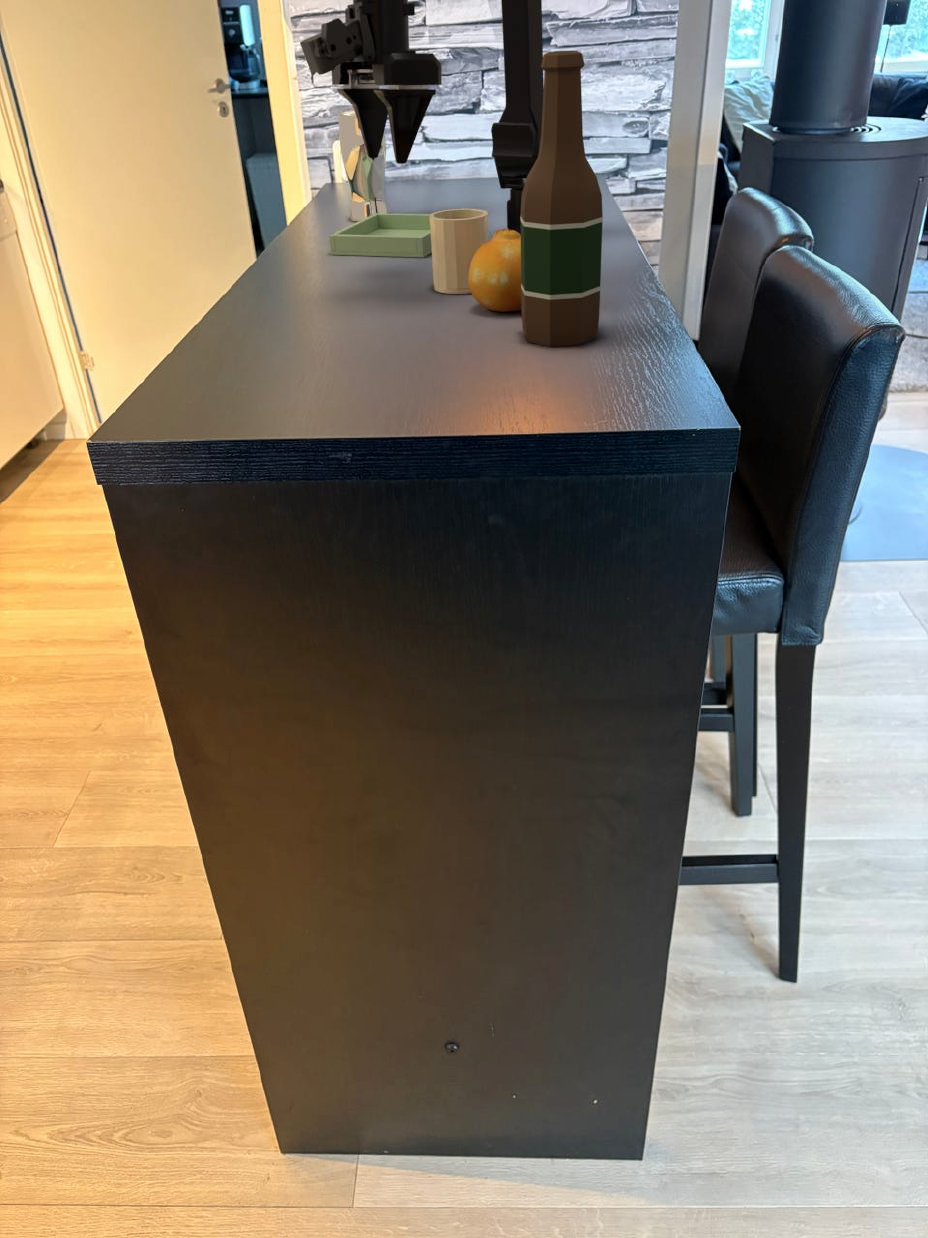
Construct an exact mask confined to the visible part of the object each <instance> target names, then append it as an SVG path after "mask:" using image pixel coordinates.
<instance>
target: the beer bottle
mask: <svg viewBox="0 0 928 1238" xmlns="http://www.w3.org/2000/svg"><path fill="white" fill-rule="evenodd" d="M585 66H586V64H585V61H584V56H583V53H582V52H581V51H579V50H556V51H548V52H546V53H543V60H542V64H541V67H542V68H543V84H544V92H543V111H542V130H541V142H540V148H539V155H538V158H537V160H536V162H535V164H534V165H533V167H532V169H531V171H530V172H529V174H528V176H527V179H526V182H525V185H524V189H523V192H522V198H521V215H520V220H521V306H522V310H521V322H522V324H521V325H522V331H523V334H524V337H525V339H526V341H527V343H530V344H536V345H540V346H545V347H550V348H553V347H566V346H567V347H568V346H581V345H582V344H585V343H587V342H589V341H591V340H593V339H596V338H597V336H598V334H599V323H600V307H601V306H600V305H601V304H600V303H601V280H602V279H601V278H602V277H601V276H602V250H603V249H602V246H603V221H604V220H603V219H604V217H603V216H604V215H603V213H604V212H603V195H602V192H601V187H600V184H599V181H598V177H597V175H596V173H595V171H594V169H593V168H592V166H591V164H590V163H589V161H588V158H587V157H586V151H585V150H586V149H585V143H584V128H583V127H584V126H583V101H582V100H583V99H582V97H583V96H582V69H583V68H584V67H585Z"/></svg>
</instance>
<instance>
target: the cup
mask: <svg viewBox="0 0 928 1238" xmlns="http://www.w3.org/2000/svg"><path fill="white" fill-rule="evenodd" d="M429 214H430V215H429V217H430V233H431V249H432V252H431V265H432V280H433V281H432V282H433V290H435V292H438V293H441V294H446V295H469V294H472V293H471V291H470V287H469V281H468V280H469V269H470V265H471V262H472V259H473V257H474V255H475V253H476V252H477V251H478V249H479V248H480V247H481V246H482V245H483V244H484V243H486V242H488V241H490V231H489V226H490V225H489V212H488V211H487V210H484V209H479V208H451V209H443V210H439V211H435V212H432V213H429Z"/></svg>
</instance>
